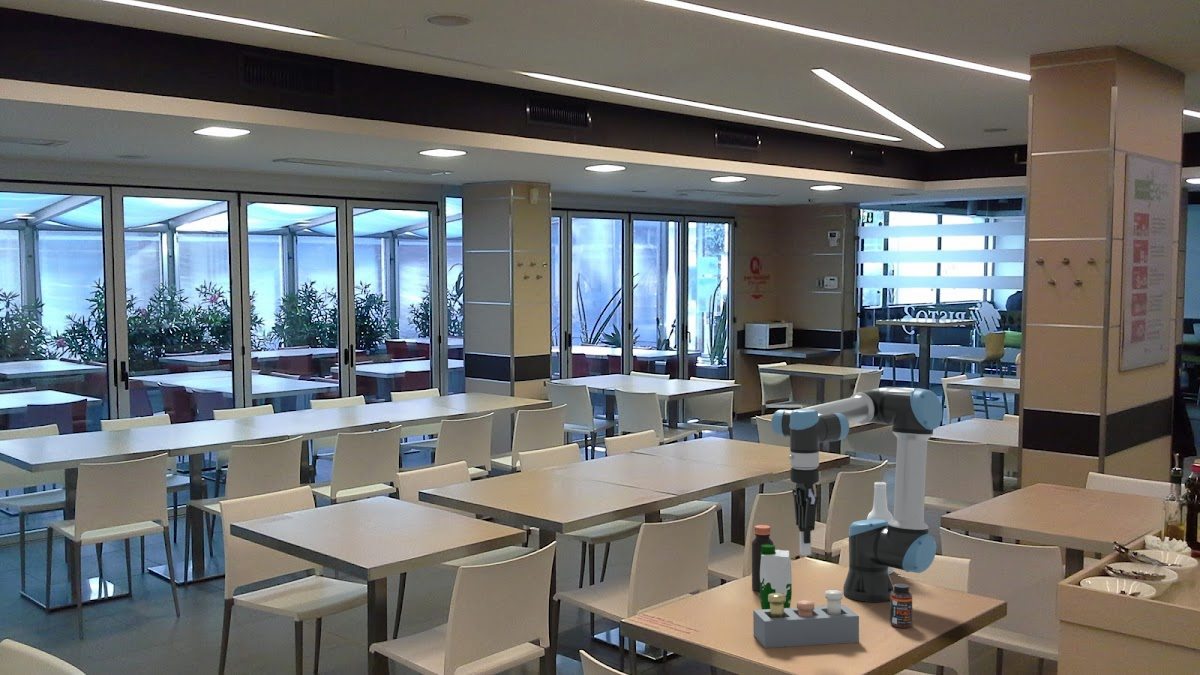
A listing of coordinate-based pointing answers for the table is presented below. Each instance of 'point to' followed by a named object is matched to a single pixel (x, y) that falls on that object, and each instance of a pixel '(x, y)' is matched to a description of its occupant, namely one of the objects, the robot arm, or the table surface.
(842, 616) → the block
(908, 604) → the supplement bottle
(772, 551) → the milk carton
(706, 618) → the table surface
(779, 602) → the brass plunger
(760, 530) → the vinegar
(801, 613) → the pink rounded piece
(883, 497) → the alcohol
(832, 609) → the white rounded piece
